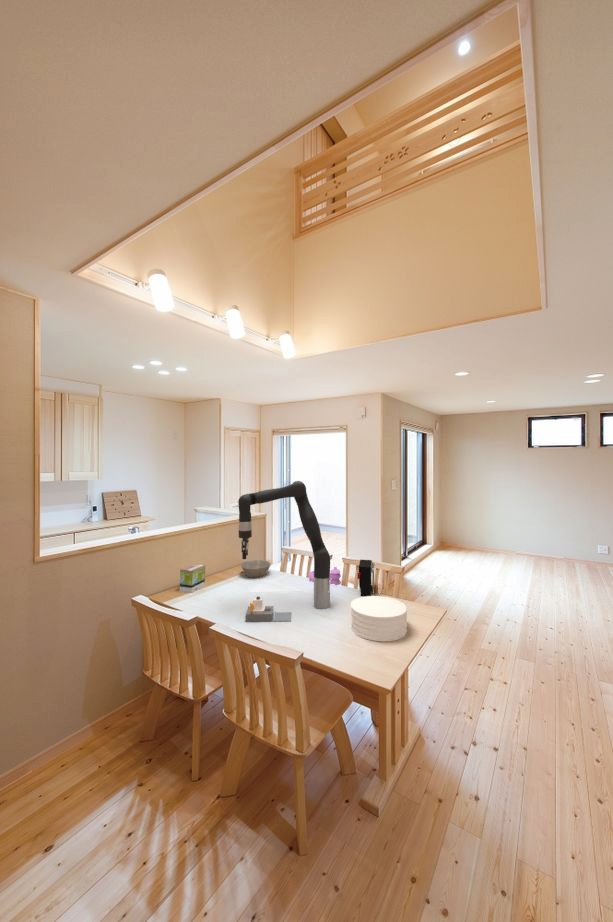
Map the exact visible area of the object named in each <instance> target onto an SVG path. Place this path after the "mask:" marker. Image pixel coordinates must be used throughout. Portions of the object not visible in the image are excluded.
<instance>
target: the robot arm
mask: <svg viewBox="0 0 613 922" xmlns="http://www.w3.org/2000/svg"><path fill="white" fill-rule="evenodd" d="M286 498H287V499H288V498H294V501H295V503H296V506H297V509H298V514H299V519H300V521H301V525H302V528H303V531H304V533H305V535H306V536H307V538H308V541H309V543H310V545H311V550H312V554H313V569H314V570H313V571H314V583H313V607H314V608H315V609H318V610H326V609H330V608H331V587H330V586H331V584H330V573H331V572H330V571H331V556H330V553H329V551H328V550H327V547H326V545H325V543H324V540H323V538H322V533H321V527H320V524H319V520H318V518H317V515H316V513H315V511H314V509H313V506H312V505H311V503H310V500H309V498H308V492H307V487H306V484H305V483H304V482H303V481H301V480H296V481H293V482H292V483H291V484H288V485H286V486H282V487H277V488H270V489H264V490H261V491H257V492H251V493H246V494H242V495H241V496H239V498H238V501H237V503H238V513H239V514H238V538H239V539H241V555H242V556H241V557H242V560H246V559H247V556H248V555H249V546H250V541H249V539H251V538H252V536H253V535H252V534H253V533H252V532H253V531H252V529H253V525H252V512H251V506H252V505H260V504H264V503H270V502H273V501H276V500H280V499H286Z"/></svg>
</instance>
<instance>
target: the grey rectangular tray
mask: <svg viewBox="0 0 613 922" xmlns="http://www.w3.org/2000/svg"><path fill="white" fill-rule="evenodd" d="M264 606H265V611H264V613H251V612H250V605H249V606H247V609H246V613H245V623H249V622H250V623H265V622H266V623H267V622H268V623H272V622H273V621H274V620H273V619H274V615H275V614H274V613H275V612H274V609H275V608H274V607H275V606H274V605H264Z"/></svg>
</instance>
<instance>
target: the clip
mask: <svg viewBox="0 0 613 922" xmlns="http://www.w3.org/2000/svg"><path fill="white" fill-rule="evenodd" d="M249 606H250V612H253V609H254V600H253V601H252V602H250V603H249Z"/></svg>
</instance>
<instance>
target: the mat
mask: <svg viewBox="0 0 613 922" xmlns="http://www.w3.org/2000/svg"><path fill="white" fill-rule="evenodd" d="M274 613H275V614H274V617H273V619H274V620H273V622H274V623H277V622H278V623H282V622H285V623H287V622H290V623H291V622H292V612H287V611H284V612H280V611H279V612H277V611H276V612H274Z"/></svg>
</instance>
